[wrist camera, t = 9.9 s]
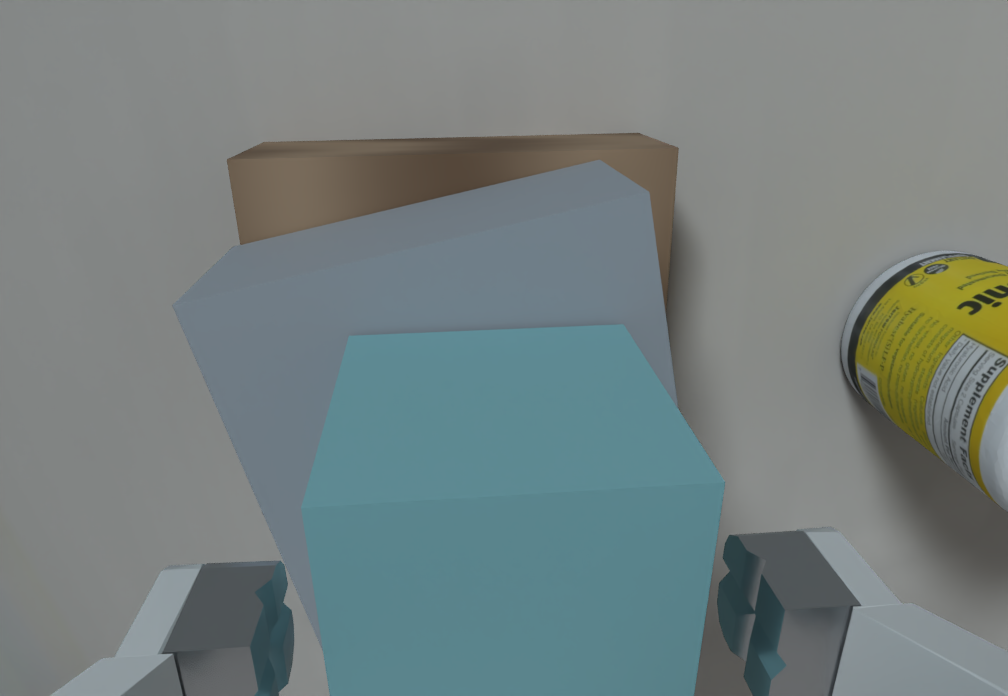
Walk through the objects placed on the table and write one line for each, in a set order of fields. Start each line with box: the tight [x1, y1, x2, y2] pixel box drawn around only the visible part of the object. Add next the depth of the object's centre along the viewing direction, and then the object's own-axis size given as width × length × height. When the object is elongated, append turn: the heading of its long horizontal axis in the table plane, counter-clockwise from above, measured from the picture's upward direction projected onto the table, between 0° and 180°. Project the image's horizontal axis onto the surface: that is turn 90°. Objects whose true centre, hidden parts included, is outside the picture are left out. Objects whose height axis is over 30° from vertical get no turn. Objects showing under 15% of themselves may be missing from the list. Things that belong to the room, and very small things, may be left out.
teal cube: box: [301, 324, 725, 696], centre depth 12 cm, size 5×5×5 cm
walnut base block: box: [227, 133, 679, 313], centre depth 19 cm, size 10×10×4 cm
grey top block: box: [172, 160, 678, 650], centre depth 16 cm, size 8×8×4 cm
